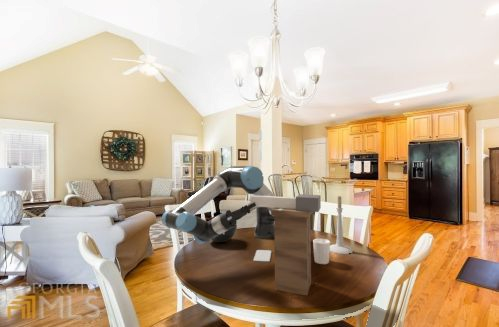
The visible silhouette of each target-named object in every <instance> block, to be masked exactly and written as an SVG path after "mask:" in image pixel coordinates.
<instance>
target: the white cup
mask: <svg viewBox="0 0 499 327" xmlns="http://www.w3.org/2000/svg"><path fill="white" fill-rule="evenodd" d="M312 243H313V244H312V246H313V257H314V258H313V259H314V263H316V264H320V265H327V264H329V263H330V253H331V252H330V245H331V241H330V240H329V239H327V238H326V239H325V238H315V239H313V240H312Z"/></svg>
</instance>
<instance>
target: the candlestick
mask: <svg viewBox="0 0 499 327" xmlns="http://www.w3.org/2000/svg"><path fill="white" fill-rule="evenodd" d="M343 210H344V208H342V196H341V195H337V207H336V212H337V226H336V227H337V228H336V243H335V244H330V253H332V252H333V253H332V254H336V253H337V254H336V255H350V254H349V253H351V254H353V252H354V251H353V249H352V248H351V247H349V246H348V245H347V244H346V245H345V244H344V233H343V232H344V231H343V217H342V212H343Z"/></svg>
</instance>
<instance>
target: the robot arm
mask: <svg viewBox="0 0 499 327" xmlns="http://www.w3.org/2000/svg"><path fill="white" fill-rule="evenodd" d="M263 175H264V174H263V172H262V170H261V169H260V168H259V167H257V166H253V165H242V166H241V165H239V166H236V165H235V166H234V165H233V166H230V167H227V168H225V169H223V170H222V171H221V172H219V173H218V174H216V175H215V176H214V177H213V178H212V180H211V181H210V182H208V183H207V184H206V185H205V186H203V187H202V188H201V189H200V190H198V191H197V192H196V193H195V194H193V195H191V196H190V197H189V198H188V199H187V200H185V201H184V202H182V203H181V204H179V205H178V207H176V208H175V209H173V210H172V209H171V210H166V211H165V212H164V213H163V214H162V216H161V223H162V225H163V226H164V227H166V228H168V229H172V230H176V231H179V232H183V233H187V234H190V235H192V236H193V239H194V240H195V241H196V243H197V244H199V245H200V244H205V243H207V242H209V241H212V240H211V239H213V238H215V237H217V236H218V235H220V234H222V233H223V234H225V231H227V230H229V229H231V228H233V227H235V226H236V225H237V222H238V220H241V219H242V218H243V217H244V216H246V215H247V214H248V215H249V214H251V213H252V211H254V210H255V211H256V226H255V229H254V232H253V236H254V237H255V238H258V239H263V240H264V239H267V240H268V239H275V235H274V215H271V210H272V209H273V208H272V207H258V206H260V205H262V204H264V203H265V202H264V200H263V198H262V196H275V197H277V196H276V194H274V192H272V190H270V188H269V187H267V185H265V183H264V176H263ZM231 188H234V189H235V188H236V189H242V190H243V191H245V192H246V194H249V195H252V196H253V195H255V196H261V197H260V198H258V199H256V200H254V201H253V202H251V203H250V202H249V203H247V204H245V205H244V206H241V207H239V209H236V210H234V211H231V210H230V211H228V210H229V209H228V210H225V211H224V212H221V213H222V214H221V215H218V216H216V217H215V218H213V219H211V218H210V219H211V220H210V221H206V220H205V219H203V218H201V217H198V216H197V215H195V214H196V213H198V211H200V210H201V209H202V208H203V207H205V206H206V205H207V204H208V203H210V202H211V201H212V200H214V198H216V197H217V196H218V195H219V194H220V193H222V192H223V193H224V192H226V191H227V190H229V189H231Z"/></svg>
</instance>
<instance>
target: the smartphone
mask: <svg viewBox="0 0 499 327" xmlns="http://www.w3.org/2000/svg"><path fill="white" fill-rule="evenodd" d="M272 254H273V252H272V250H270V249H256V250H255V253H254V256H253V260H252V261H253V262H259V263H260V262H263V263H270V262H271V257H272Z"/></svg>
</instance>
